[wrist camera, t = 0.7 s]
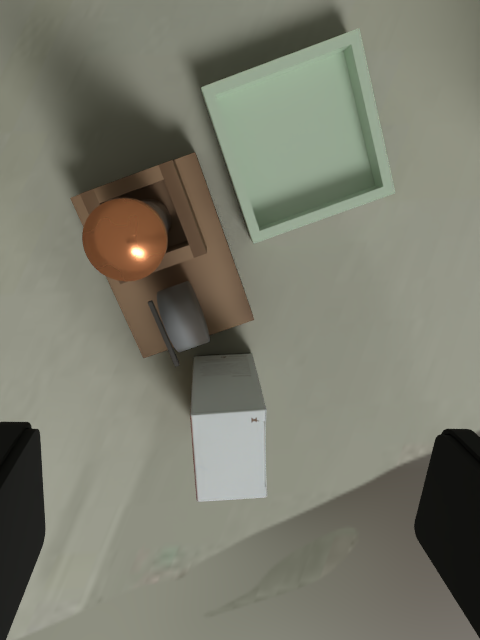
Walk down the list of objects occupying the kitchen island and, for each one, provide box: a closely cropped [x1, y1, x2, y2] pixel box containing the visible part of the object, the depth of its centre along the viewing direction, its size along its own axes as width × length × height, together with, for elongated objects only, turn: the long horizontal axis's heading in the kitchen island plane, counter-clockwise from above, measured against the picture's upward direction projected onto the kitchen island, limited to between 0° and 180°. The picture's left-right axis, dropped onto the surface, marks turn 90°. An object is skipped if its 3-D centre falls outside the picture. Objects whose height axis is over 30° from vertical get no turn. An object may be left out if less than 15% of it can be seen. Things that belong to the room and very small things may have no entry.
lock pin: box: [82, 198, 171, 281], centre depth 29 cm, size 4×4×11 cm
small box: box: [190, 354, 267, 502], centre depth 38 cm, size 8×6×10 cm
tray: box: [201, 28, 395, 244], centre depth 35 cm, size 12×12×2 cm
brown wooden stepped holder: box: [71, 152, 254, 367], centre depth 34 cm, size 10×14×8 cm
